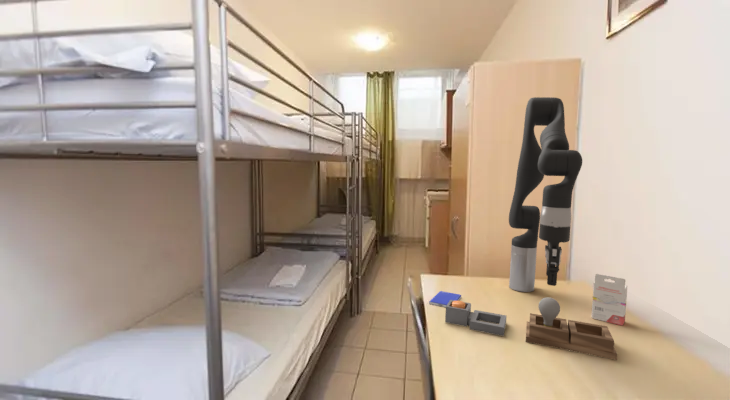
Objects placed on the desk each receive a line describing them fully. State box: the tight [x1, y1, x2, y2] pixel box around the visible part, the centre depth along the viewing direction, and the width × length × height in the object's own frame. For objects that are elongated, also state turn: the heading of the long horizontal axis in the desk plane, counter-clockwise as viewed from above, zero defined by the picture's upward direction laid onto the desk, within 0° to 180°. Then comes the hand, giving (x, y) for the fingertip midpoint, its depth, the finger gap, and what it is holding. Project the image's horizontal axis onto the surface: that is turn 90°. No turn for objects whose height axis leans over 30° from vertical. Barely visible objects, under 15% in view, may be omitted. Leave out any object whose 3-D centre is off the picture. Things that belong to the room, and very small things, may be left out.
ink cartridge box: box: [591, 273, 628, 327], centre depth 115 cm, size 9×5×15 cm, turn 47°
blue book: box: [428, 290, 462, 308], centre depth 130 cm, size 2×8×12 cm
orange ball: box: [452, 300, 465, 309], centre depth 113 cm, size 4×4×4 cm
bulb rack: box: [525, 313, 618, 361], centre depth 100 cm, size 11×21×4 cm, turn 65°
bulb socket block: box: [444, 300, 507, 337], centre depth 111 cm, size 10×17×5 cm, turn 65°
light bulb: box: [538, 297, 561, 327], centre depth 102 cm, size 6×5×10 cm
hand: (550, 280), depth 101 cm, fingers open, 8 cm apart
